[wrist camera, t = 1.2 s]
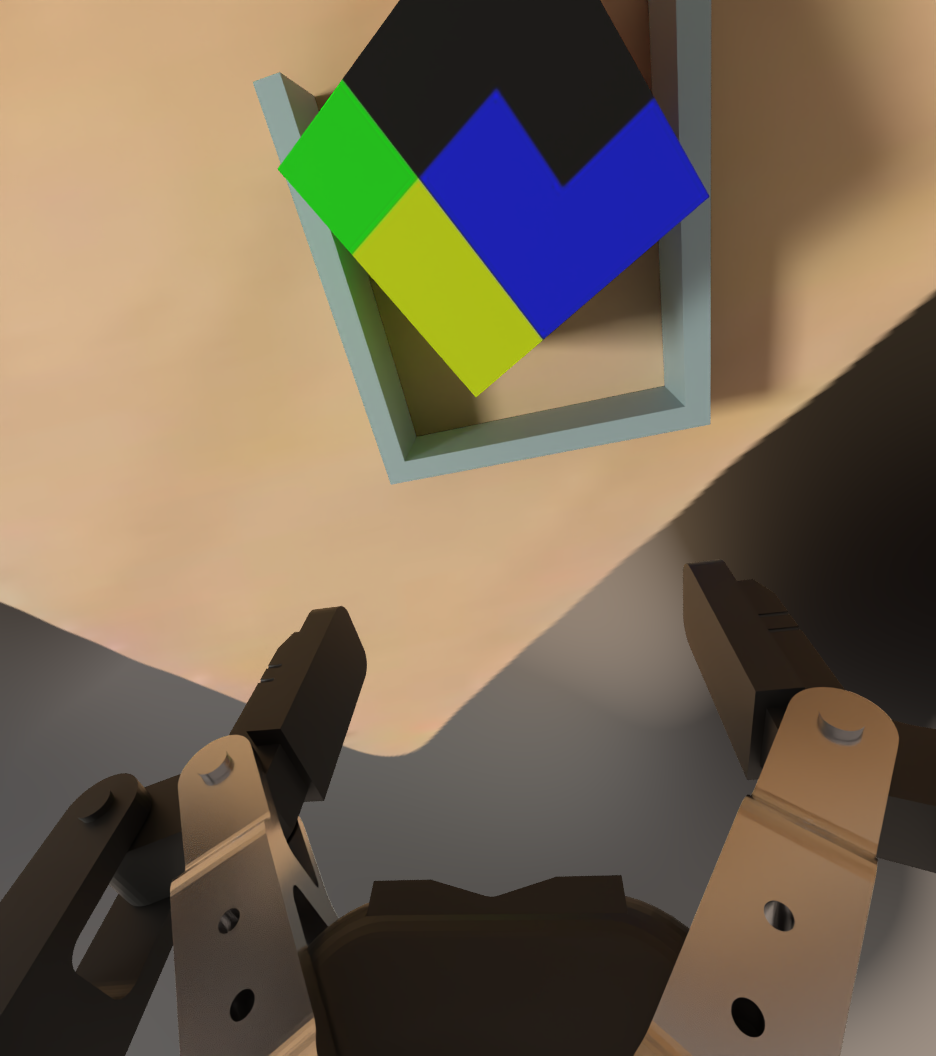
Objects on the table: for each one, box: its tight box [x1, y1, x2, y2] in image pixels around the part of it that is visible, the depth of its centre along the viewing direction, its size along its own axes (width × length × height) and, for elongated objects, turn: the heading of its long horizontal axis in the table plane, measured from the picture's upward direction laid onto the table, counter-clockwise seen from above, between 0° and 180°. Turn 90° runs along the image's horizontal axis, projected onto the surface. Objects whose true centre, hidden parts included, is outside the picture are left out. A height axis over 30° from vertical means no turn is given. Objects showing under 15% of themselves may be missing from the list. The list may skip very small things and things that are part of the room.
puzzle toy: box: [278, 0, 710, 397], centre depth 21 cm, size 10×10×10 cm
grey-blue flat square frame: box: [253, 0, 711, 484], centre depth 24 cm, size 18×17×4 cm
